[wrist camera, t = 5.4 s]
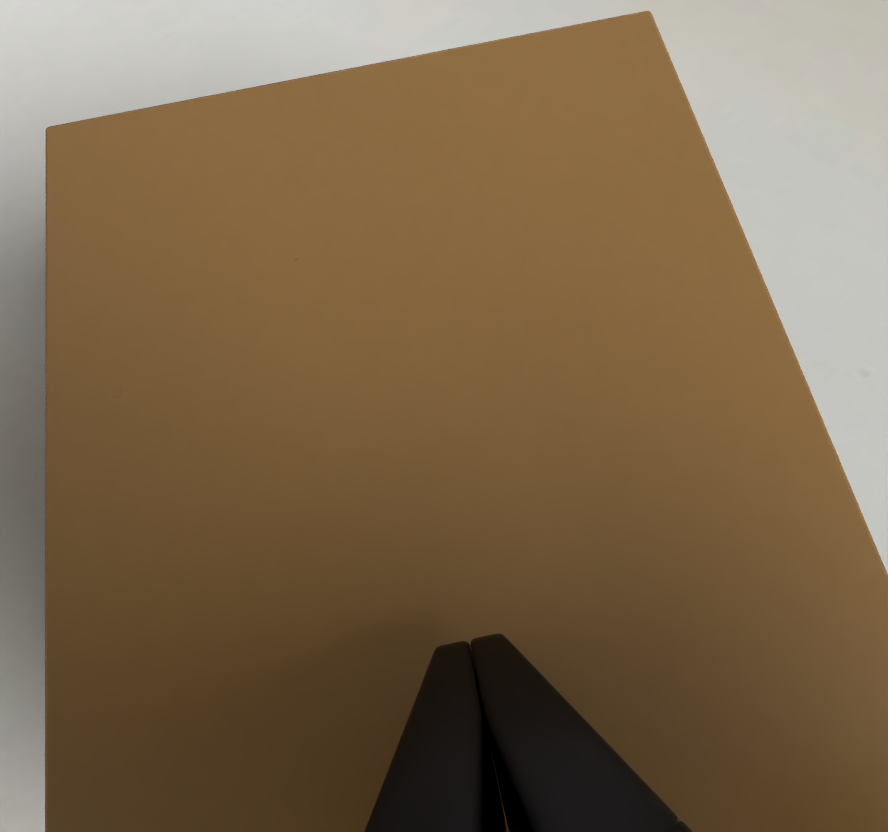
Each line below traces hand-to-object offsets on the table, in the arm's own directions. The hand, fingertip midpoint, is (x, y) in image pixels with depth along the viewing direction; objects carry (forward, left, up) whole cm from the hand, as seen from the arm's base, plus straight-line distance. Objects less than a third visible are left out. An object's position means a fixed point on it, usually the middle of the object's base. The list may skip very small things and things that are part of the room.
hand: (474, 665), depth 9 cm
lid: (+4, 0, -2) cm, 4 cm away
